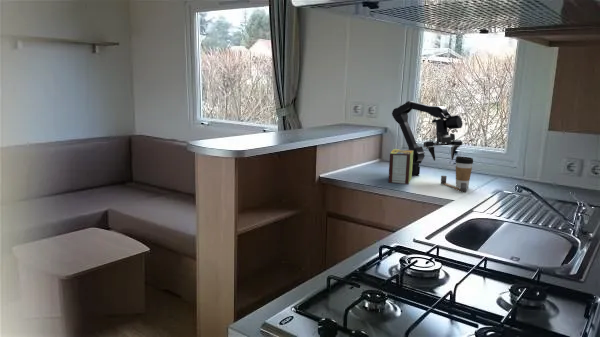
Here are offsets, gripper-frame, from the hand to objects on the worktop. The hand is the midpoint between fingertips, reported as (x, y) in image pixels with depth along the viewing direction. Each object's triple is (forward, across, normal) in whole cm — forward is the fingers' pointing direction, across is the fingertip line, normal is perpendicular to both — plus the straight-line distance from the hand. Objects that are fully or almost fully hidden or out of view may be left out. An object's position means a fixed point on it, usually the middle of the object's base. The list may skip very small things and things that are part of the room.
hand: (443, 160), depth 241 cm
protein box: (+10, -23, +1) cm, 25 cm away
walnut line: (+14, 0, -12) cm, 19 cm away
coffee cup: (+14, +6, -10) cm, 18 cm away
